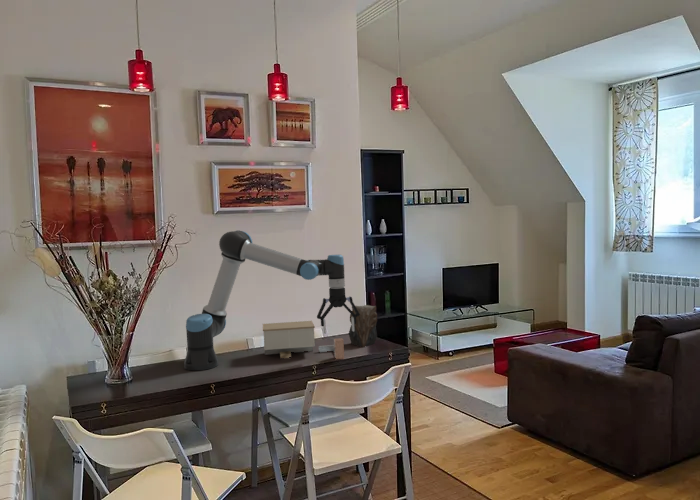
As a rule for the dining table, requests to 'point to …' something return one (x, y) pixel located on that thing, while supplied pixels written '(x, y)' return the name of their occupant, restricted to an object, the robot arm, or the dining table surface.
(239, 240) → the robot arm
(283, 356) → the tile
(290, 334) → the cabinet
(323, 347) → the mallet
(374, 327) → the owl
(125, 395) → the dining table surface
